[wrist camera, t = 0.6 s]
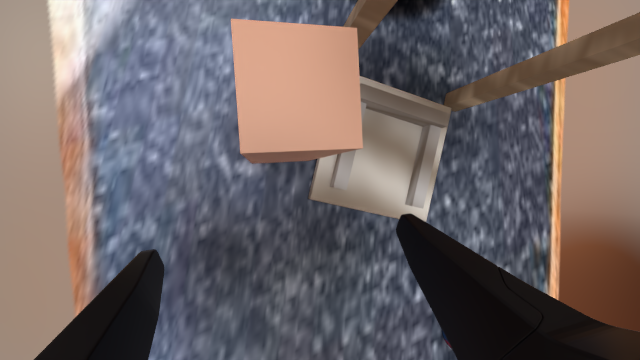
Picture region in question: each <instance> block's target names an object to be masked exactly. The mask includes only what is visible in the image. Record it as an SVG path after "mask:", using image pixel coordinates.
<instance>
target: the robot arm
mask: <svg viewBox="0 0 640 360" xmlns="http://www.w3.org/2000/svg"><path fill="white" fill-rule="evenodd" d="M396 233H397V236H398V238H399V241H400V243H401V246H402V248H403V251H404V254H405V256H406V259H407V261H408V264H409V266H410V268H411V270H412V272H413V274H414V276H415V278H416V280H417V282H418V284H419V286H420V288H421V290H422V292H423V293H424V295H425V297H426V299H427V301H428V303H429V305H430V307H431V309H432V311H433V313H434V315H435V317H436V319H437V320H438V322H439V324H440V326H441V328H442V330H443V332H444V334H445V336H446V338H447V340H448V342H449V344H450V346H451V347H452V349H453V351H454V353H455V355H456V357H457V359H458V360H640V332H638V331H633V330H628V329H623V328H619V327H615V326H611V325H608V324H605V323H602V322H600V321H597V320H595V319H593V318H590V317H588V316H586V315H584V314H582V313H581V312H579V311H577V310H575V309H573V308H571V307H569V306H567V305H566V304H564V303H562V302H560V301H558V300H556V299H555V298H553V297H551V296H549V295H547V294H545V293H543V292H541V291H540V290H538V289H536V288H534V287H532V286H531V285H529V284H527V283H525V282H524V281H522V280H520V279H518V278H517V277H515V276H513V275H512V274H510V273H508V272H507V271H505V270H503V269H502V268H500V267H498V266H497V265H495V264H493V263H492V262H490V261H489V260H487V259H485V258H484V257H482V256H480V255H479V254H477V253H475V252H474V251H472V250H471V249H469V248H467V247H466V246H464V245H462V244H461V243H459V242H457V241H456V240H454V239H452V238H451V237H449V236H448V235H446V234H444V233H443V232H441V231H439V230H438V229H436V228H434V227H433V226H431V225H430V224H428V223H426V222H425V221H423V220H421V219H420V218H418V217H416V216H415V215H413V214H411V213H408V214H402V215H401V216H400V218H399V221H398V224H397V228H396ZM163 277H164V264H163V262H162V260H161V258H160V256H159V254H158V252H157V251H156V250H154V249H153V250H146V251H141V252H140V253H139V254H138V255H137V256H136V257H135V258H134V259H133V260H132V261H131V262H130V263H129V264H128V265H127V266H126V267H125V268H124V269H123V270H122V271H121V272H120V273H119V274H118V275H117V276H116V277H115V278H114V279H113V280H112V281H111V282H110V283H109V284H108V285H107V286H106V287H105V288H104V289H103V290H102V291H101V292H100V293H99V294H98V295H97V296H96V297H95V298H94V299H93V300H92V301H91V302H90V303H89V304H88V305H87V306H86V307H85V308H84V309H83V310H82V311H81V312H80V313H79V314H78V315H77V316H76V317H75V318H74V319H73V320H72V321H71V323H70V324H69V325H68V326H67V327H66V328H65V329H64V330H63V331H62V332H61V333H60V334H59V335H58V336H57V337H56V338H55V339H54V340H53V341H52V342H51V343H50V344H49V345H48V346H47V347H46V348H45V349H44V350H43V351H42V352H41V353H40V354H39V355H38V356H37V357H36V358H35V359H34V360H148V357H149V353H150V349H151V345H152V341H153V337H154V333H155V329H156V325H157V321H158V316H159V309H160V301H161V293H162V285H163Z"/></svg>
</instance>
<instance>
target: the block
mask: <svg viewBox="0 0 640 360" xmlns="http://www.w3.org/2000/svg"><path fill="white" fill-rule="evenodd" d="M231 28H232V41H233V55H234V69H235V83H236V97H237V111H238V125H239V139H240V153H241V154H242V155H243V156H244V157H245V158H246V159H247V160H249V161H250V162H251V163H252V164H255V163H275V162H295V161H309V160H314V159H318V158H323V157H327V156H331V155H336V154H340V153H345V152H349V151H353V150H358V149H362V148H363V139H362V118H361V98H360V78H359V57H358V37H357V28H352V27H338V26H324V25H310V24H296V23H282V22H268V21H255V20H241V19H231Z"/></svg>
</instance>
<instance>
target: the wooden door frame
mask: <svg viewBox="0 0 640 360" xmlns="http://www.w3.org/2000/svg"><path fill="white" fill-rule="evenodd" d="M397 1H398V0H358V1H357V3H356V5H355V7H354V8H353V10H352V12H351V14H350V15H349V17H348V19H347V21H346V22H345V24H344V26H343V27H352V28H357V37H358V49H359V48H360V47H361V46H362V44H363V43H364V42H365V41H366V39H367V38H368V37H369V36H370V34H371V33H372V32H373V31H374V29H375V28H376V27H377V26H378V24H379V23H380V22H381V21H382V19H383V18H384V17H385V16H386V14H387V13H388V12H389V11H390V9H391V8H392V7H393V6H394V4H395V3H396V2H397ZM637 55H640V12H639V13H637V14H635V15H632V16H630V17H628V18H625V19H623V20H620V21H618V22H616V23H613V24H611V25H609V26H606V27H604V28H601V29H599V30H597V31H595V32H592V33H589V34H587V35H585V36H582V37H580V38H578V39H575V40H573V41H570V42H568V43H566V44H563V45H561V46H558V47H556V48H554V49H551V50H549V51H547V52H544V53H542V54H539V55H537V56H535V57H532V58H530V59H528V60H525V61H523V62H520V63H518V64H516V65H513V66H511V67H508V68H506V69H504V70H501V71H499V72H497V73H494V74H492V75H489V76H487V77H485V78H482V79H480V80H478V81H475V82H473V83H470V84H468V85H466V86H463V87H461V88H458V89H456V90H454V91H451V92H449V93H447V94H446V97H445V102H444V105H441V104H438V103H435V102H433V101H430V100H427V99H424V98H421V97H418V96H416V95H413V94H410V93H407V92H404V91H401V90H399V89H396V88H393V87H390V86H387V85H385V84H382V83H379V82H376V81H373V80H370V79H368V78H365V77H362V76H359V78H360V98H361V118H362V139H363V148H362V149H358V150H353V151H349V152H345V153H340V154H336V155H331V156H327V157H323V158H318V159H317V163H316V167H315V171H314V175H313V180H312V184H311V188H310V192H309V197H308V198H309V199H311V200H316V201H320V202H325V203H329V204H334V205H338V206H343V207H347V208H352V209H356V210H361V211H365V212H370V213H374V214H379V215H384V216H388V217H393V218H397V219H399V218H400V216H401V215H402V214H408V213H411V214H413V215H415V216H416V217H418V218H420V219H421V220H423V221H425V222H426V219H427V215H428V210H429V206H430V202H431V197H432V193H433V188H434V184H435V179H436V175H437V171H438V166H439V162H440V157H441V153H442V149H443V144H444V140H445V135H446V131H447V127H448V122H449V118H450V113H451V110H452V111H455V112H456V111H459V110H462V109H465V108H469V107H472V106H475V105H478V104H482V103H485V102H488V101H491V100H495V99H498V98H501V97H504V96H508V95H511V94H514V93H517V92H521V91H524V90H527V89H530V88H534V87H537V86H540V85H543V84H547V83H550V82H553V81H556V80H560V79H563V78H566V77H569V76H572V75H576V74H579V73H582V72H586V71H589V70H592V69H595V68H598V67H601V66H605V65H608V64H611V63H615V62H618V61H621V60H624V59H628V58H631V57H634V56H637Z"/></svg>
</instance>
